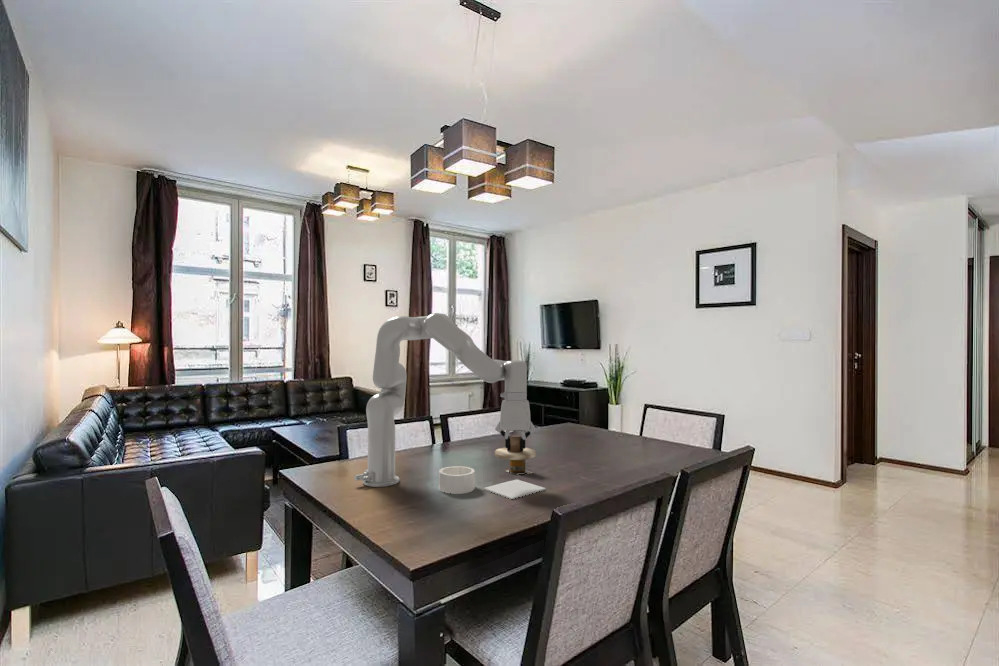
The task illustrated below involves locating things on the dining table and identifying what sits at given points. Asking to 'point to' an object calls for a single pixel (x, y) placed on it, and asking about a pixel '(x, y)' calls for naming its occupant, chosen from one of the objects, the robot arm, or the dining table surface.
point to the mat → (514, 489)
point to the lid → (515, 451)
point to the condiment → (517, 467)
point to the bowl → (456, 480)
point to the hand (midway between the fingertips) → (515, 449)
